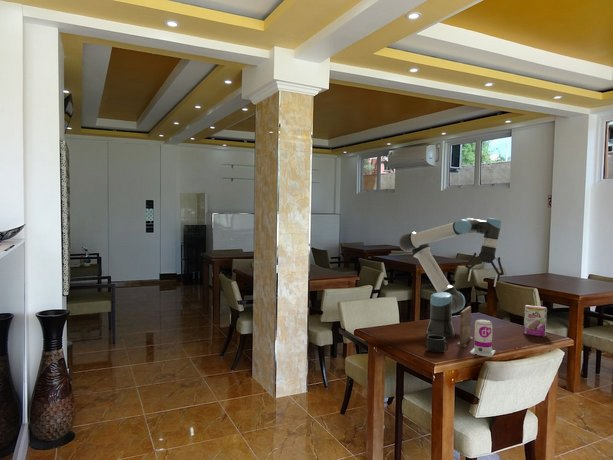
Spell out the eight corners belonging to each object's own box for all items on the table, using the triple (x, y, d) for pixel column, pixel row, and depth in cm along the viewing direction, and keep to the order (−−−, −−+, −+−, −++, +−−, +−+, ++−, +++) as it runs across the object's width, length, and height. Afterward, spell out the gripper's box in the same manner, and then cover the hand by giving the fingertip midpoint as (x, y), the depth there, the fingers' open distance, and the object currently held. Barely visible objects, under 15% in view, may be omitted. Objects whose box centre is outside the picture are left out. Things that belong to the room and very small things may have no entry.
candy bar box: (523, 334, 257) (523, 306, 256) (524, 332, 261) (525, 304, 260) (545, 337, 251) (546, 308, 250) (546, 335, 255) (546, 306, 254)
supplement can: (493, 354, 218) (494, 323, 217) (475, 353, 219) (476, 322, 219) (490, 349, 226) (490, 319, 225) (472, 348, 227) (473, 318, 227)
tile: (470, 353, 221) (470, 351, 221) (474, 348, 230) (474, 346, 230) (491, 357, 216) (491, 355, 216) (495, 351, 224) (495, 350, 224)
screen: (457, 346, 233) (457, 311, 233) (465, 338, 248) (466, 305, 248) (465, 347, 231) (465, 312, 230) (472, 339, 246) (473, 306, 246)
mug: (422, 350, 226) (422, 336, 226) (434, 347, 231) (435, 333, 231) (441, 356, 216) (441, 342, 216) (453, 353, 221) (454, 339, 221)
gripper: (465, 241, 248) (457, 279, 250) (513, 251, 239) (505, 289, 240) (466, 241, 255) (458, 277, 257) (513, 250, 245) (505, 288, 247)
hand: (481, 283), depth 248 cm, fingers open, 13 cm apart
